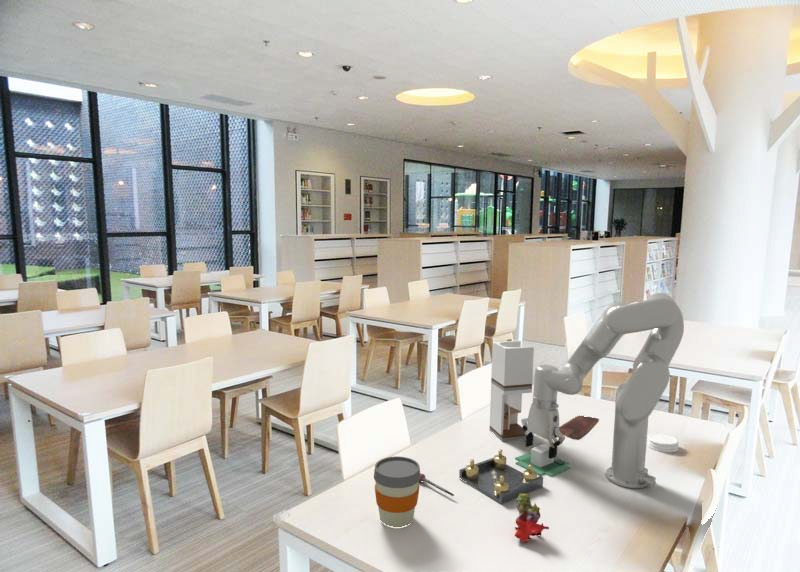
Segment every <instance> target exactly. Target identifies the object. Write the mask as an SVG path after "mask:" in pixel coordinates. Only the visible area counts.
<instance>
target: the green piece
mask: <svg viewBox="0 0 800 572" xmlns="http://www.w3.org/2000/svg"><path fill="white" fill-rule="evenodd" d="M550 446H551V445H550V444H547V443H543V444H541V445H538V446H535V447H532V448H531V449H530V452H527V453H525V454H522V455H519V456H517V457H515V458H514V460H516V462H515V465H517V466H519V467H520V468H522V469H525V470H528V469H529V464H532V465H533V471H535V472H536V473H537V477H539V476H542V475H546V476H548V477H551V478H552V477H555V476H557V475H559V474H562V473H563V471H564V472H566V471H568V470H571V466H570V464H569V463H570V462H569V461H567V460H565V459H562V458H560V457H558V456H556V457H554V458H551V459H550V458H549V447H550ZM568 465H569V466H568Z"/></svg>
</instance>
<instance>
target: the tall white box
mask: <svg viewBox="0 0 800 572" xmlns="http://www.w3.org/2000/svg"><path fill="white" fill-rule="evenodd" d="M521 342H522V341H521V340H509V341H508V340H505V341H492V348H491V351H492V352H491V374H490V375H491V376H490V377H491V379H490V402H489V403H490V406H489V431H490V432H491V433H492V432H493V433H494V434H495V435H496V436H497V437H498V438H497V437H496V436H495V435H494V434H493V433H492V434H493V435H494V436H495V437H496V438H497V439H498V440H499V441H501V442H502V441H503V442H509V441H511V442H512V441H520V440H526V435H525V431H524V429H523V426H522V425H520V424H519V423H518V419H519V417H518V415H519V414H520V413H522V405H523V404H522V402H523V394H530V393H533V376H534V375H533V373H534V369H533V368H534V354H535V353H534V352H535V351H534V350H535V347H534V346H522V345H521V344H522V343H521Z"/></svg>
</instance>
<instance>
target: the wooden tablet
mask: <svg viewBox="0 0 800 572" xmlns="http://www.w3.org/2000/svg"><path fill="white" fill-rule="evenodd" d="M584 416H585V415H581V416H580V415H577V416H574V417H575V418H574V417H573V418H571V419H569V420H568V421H567V422H565V423H563V424H562V425H559V431H560V432H561V433H562V434H563V435H564V436H565V438H570V439H572V440H579V439H580V438H583V436H584V435H586V434H587V433H588V432H589V431H590V430H591V429H592V428H593V427H594V426H595V425H596V424H597V423H598V422H599V418H597V417H593V418H592V417H591V416H587V417H584Z"/></svg>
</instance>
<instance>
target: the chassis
mask: <svg viewBox="0 0 800 572" xmlns="http://www.w3.org/2000/svg"><path fill="white" fill-rule="evenodd" d="M469 460H470V461H469V462H470V464H468V465H467V464H466V466H465V467H464V468H460V469H459V470H458V471H459V475H458V476H459V477H458V478H461V479H462V480H464V481H466V482H467V483H468V484H467V483H466V484H467V485H469V484H470V485H471V487H472V486H473V487H472V488H474V487H475V488H476V490H477V489H478V490H477V491H479V492H480V491H481V492H480V493H482V494H483V495H485V494H486V495H485V496H487V497H489V498H491V500H494V501H495V502H497V503H498V504H501V505H503V504H506V503H508V502H510V501H513V500H515V499H517V498H518V495H519V494H520V493H521V494H529V493H530V492H534V491H535V490H536V491H537V489H540V488H543V486H544V477H543V476H542V475H541V476H538V475H537V473H536V472H535V471H533V465H532V464H529V469H528V470H527V469H525V470H524V471H522V472H521V471H520V470H518V469H516V468H514V467H513V466H510V465H508V464H507V456H505V455H503V449H498V454H496V455H494V456H493V457H491V458H489V459H486V460H483V461H480V462H477V463H475V459H473V458H471V459H469ZM461 479H460V480H461ZM462 480H461V481H462ZM464 481H463V482H464ZM470 485H469V486H470ZM475 488H474V489H475Z"/></svg>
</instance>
